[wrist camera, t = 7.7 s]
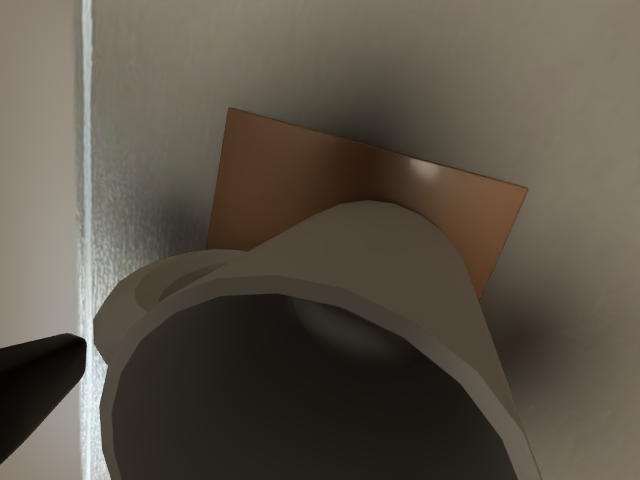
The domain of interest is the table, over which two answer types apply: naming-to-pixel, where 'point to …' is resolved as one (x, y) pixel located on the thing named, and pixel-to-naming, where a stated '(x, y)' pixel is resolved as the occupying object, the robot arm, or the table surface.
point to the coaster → (349, 189)
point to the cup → (309, 361)
